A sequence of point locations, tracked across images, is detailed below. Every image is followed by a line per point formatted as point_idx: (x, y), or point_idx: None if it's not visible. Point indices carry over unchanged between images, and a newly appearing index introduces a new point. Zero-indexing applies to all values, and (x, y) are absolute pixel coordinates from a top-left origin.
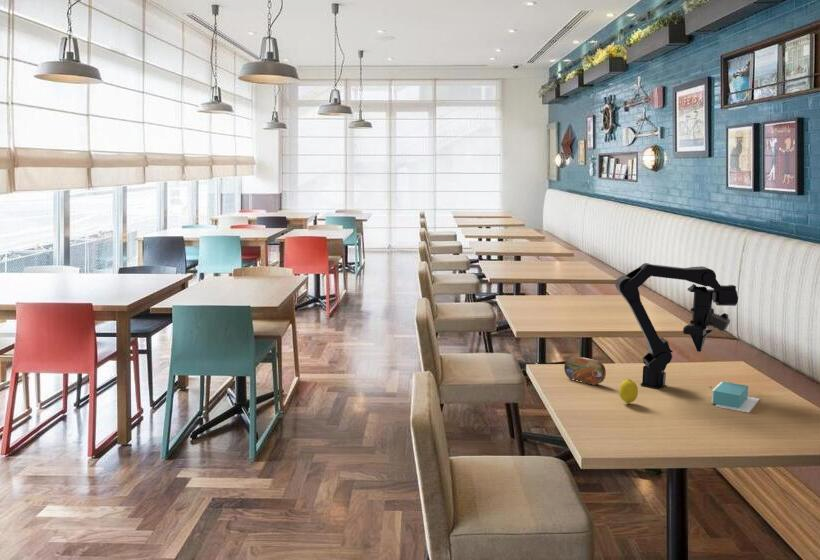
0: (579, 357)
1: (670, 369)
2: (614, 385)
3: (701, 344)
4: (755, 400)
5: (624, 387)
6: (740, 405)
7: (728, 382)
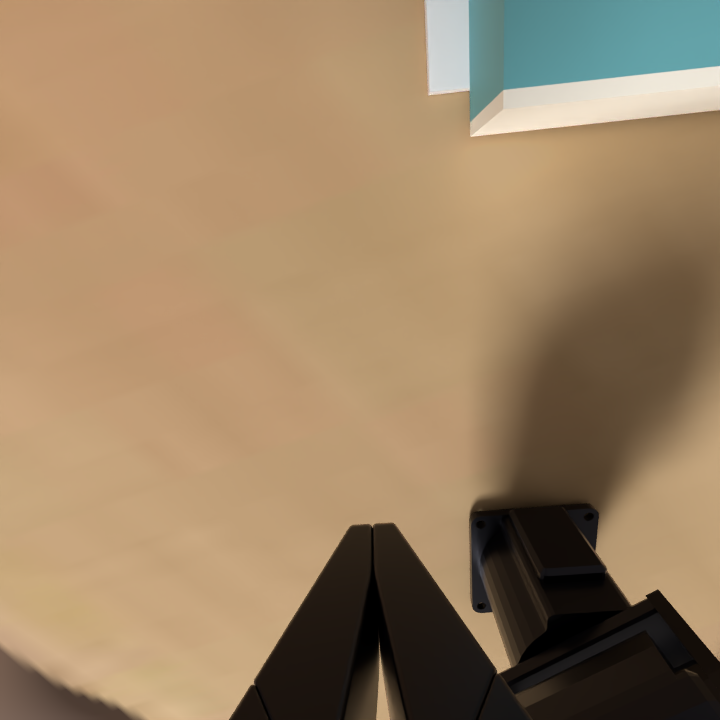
0: None
1: (126, 595)
2: None
3: (475, 640)
4: None
5: None
6: None
7: (506, 24)
